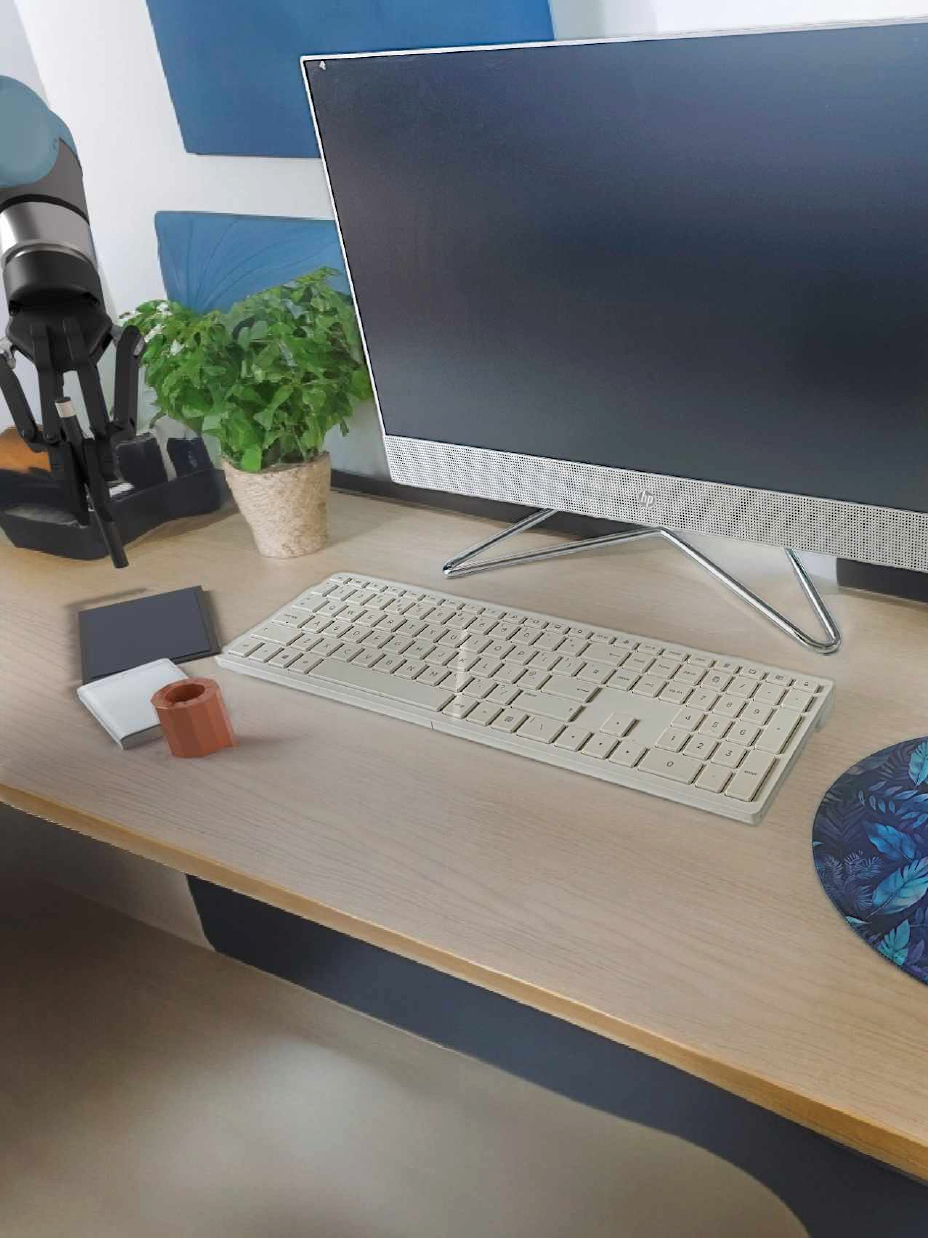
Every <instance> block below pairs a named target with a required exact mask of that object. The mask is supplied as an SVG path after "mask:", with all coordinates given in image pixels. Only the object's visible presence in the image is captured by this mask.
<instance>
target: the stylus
mask: <svg viewBox="0 0 928 1238" xmlns="http://www.w3.org/2000/svg"><path fill="white" fill-rule="evenodd" d="M71 398H72V397H70V396H64V397H59V398H56V399H55V400H54V401H55V404H56V407H57V410H58V413H59V415H60V417H61V420H62V423H63V426H64V429H65V431H66V434H67V437H68V441H69V442H70V445H71V447H72V450H73V453H74V456H75V458H76V461H77V464H78V467H79V470H80V472H81V475H82V478H83V481H84V485H85V490H86V493H87V495H88V497H89V500H90V503H91V506H92V509H93V511H94V514H95V517H96V521H97V522H98V525H99V528H100V531H101V534H102V537H103V540H104V542H105V545H106V548H107V551H108V553H109V557H110V559H111V561H112V564H113V567H114V568H115V569H120V570H121V569H125V568H127V567H129V565H130V563H129V560H128V557H127V554H126V552H125V549H124V546H123V543H122V540H121V537H120V535H119V531H118V529H117V527H116V523H115V521H112V522H106V523H105V522H104V520H103V519H102V518H101V516H100V515H99V514H98V512H97V511H96V509H95V506H94V500H93V495H92V489H91V483H90V477H89V471H88V466H87V460H86V454H85V448H84V442H83V439H84V438H85V435H84V433H83V430H82V427H81V424H80V421H79V419H78V416H77V412H76V410H75V406H74V404H73V400H72V399H71Z"/></svg>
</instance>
